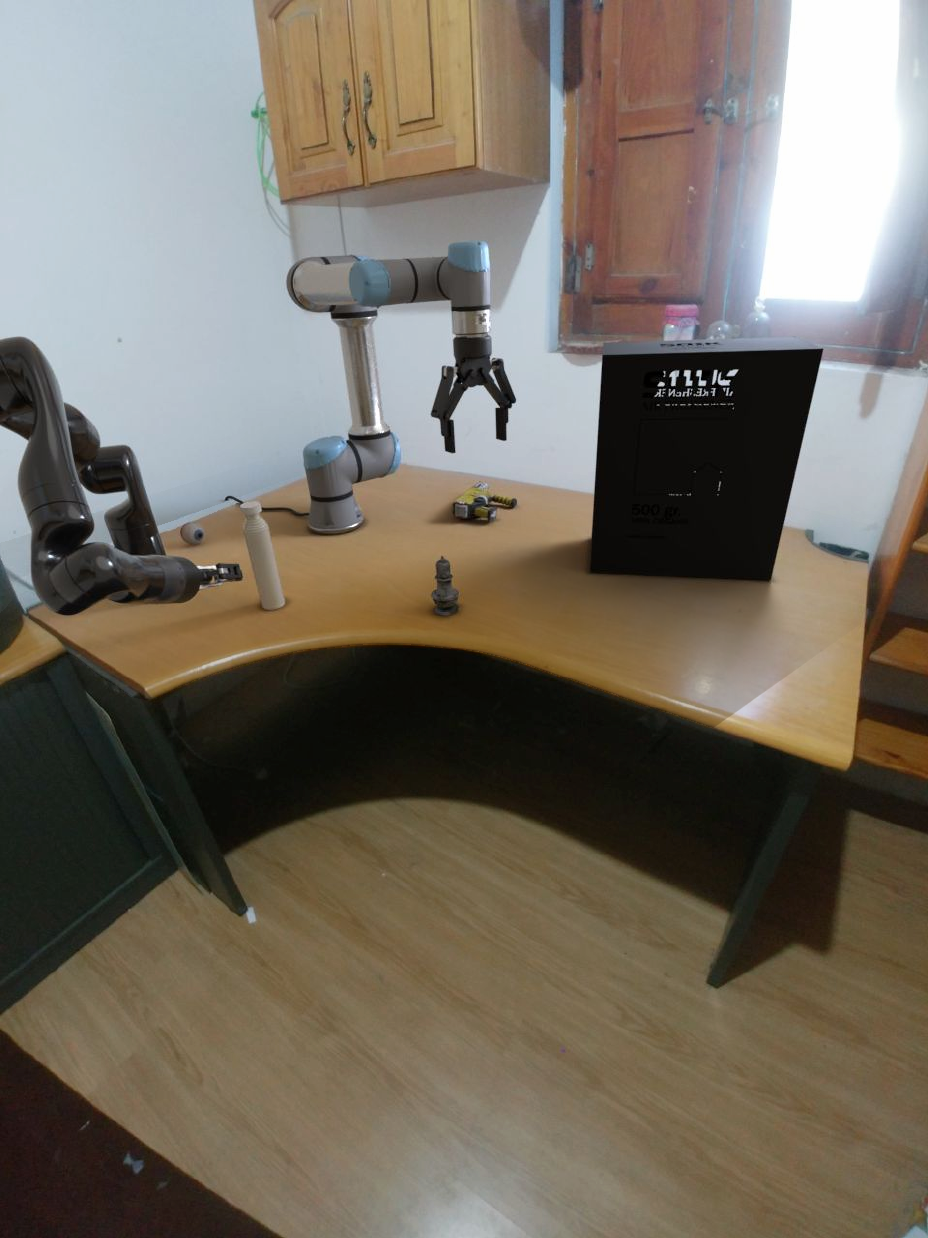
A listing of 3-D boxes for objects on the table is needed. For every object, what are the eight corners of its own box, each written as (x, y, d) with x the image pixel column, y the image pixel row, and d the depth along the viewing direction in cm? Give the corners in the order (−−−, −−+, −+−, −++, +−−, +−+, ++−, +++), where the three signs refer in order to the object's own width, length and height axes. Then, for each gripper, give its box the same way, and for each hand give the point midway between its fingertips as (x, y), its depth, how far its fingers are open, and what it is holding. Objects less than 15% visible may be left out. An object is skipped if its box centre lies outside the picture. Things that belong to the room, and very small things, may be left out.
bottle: (272, 612, 127) (248, 512, 116) (257, 606, 129) (232, 508, 118) (290, 602, 130) (268, 504, 119) (274, 597, 133) (252, 500, 122)
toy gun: (525, 486, 181) (478, 479, 184) (503, 510, 160) (450, 501, 164) (523, 501, 183) (477, 494, 187) (501, 526, 163) (450, 518, 167)
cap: (250, 516, 117) (248, 509, 116) (237, 513, 119) (235, 506, 118) (265, 510, 120) (264, 502, 119) (253, 507, 122) (251, 500, 121)
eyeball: (193, 549, 159) (187, 528, 156) (179, 545, 162) (172, 524, 159) (212, 541, 163) (206, 520, 160) (198, 538, 166) (191, 517, 163)
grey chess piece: (457, 617, 121) (453, 562, 115) (428, 615, 122) (423, 561, 116) (463, 603, 126) (459, 550, 120) (435, 601, 127) (431, 549, 121)
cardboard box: (751, 542, 144) (793, 336, 122) (770, 580, 127) (823, 348, 105) (591, 537, 152) (603, 342, 130) (589, 572, 135) (602, 354, 112)
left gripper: (198, 545, 92) (249, 550, 108) (115, 566, 94) (177, 569, 110) (210, 593, 92) (259, 591, 108) (126, 613, 94) (187, 609, 110)
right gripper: (429, 342, 108) (437, 460, 118) (533, 329, 120) (532, 437, 131) (407, 340, 113) (417, 454, 124) (508, 328, 125) (510, 432, 136)
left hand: (217, 580), depth 109 cm, fingers open, 8 cm apart
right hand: (476, 445), depth 127 cm, fingers open, 13 cm apart
